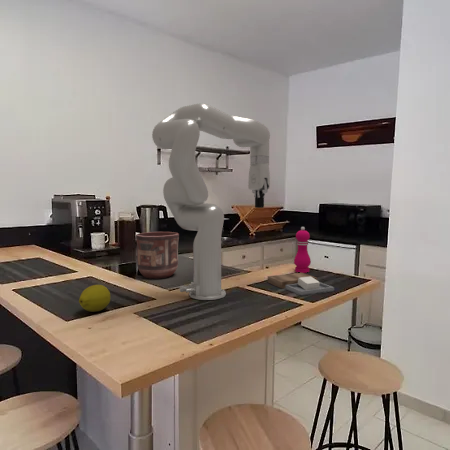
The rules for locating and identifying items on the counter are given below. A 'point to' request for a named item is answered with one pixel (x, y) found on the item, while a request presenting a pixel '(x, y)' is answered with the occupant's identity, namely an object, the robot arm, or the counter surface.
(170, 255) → the pottery
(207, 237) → the robot arm
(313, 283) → the tile
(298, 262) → the pepper mill
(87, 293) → the lemon
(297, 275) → the walnut plate
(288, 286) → the tray
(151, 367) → the counter surface
